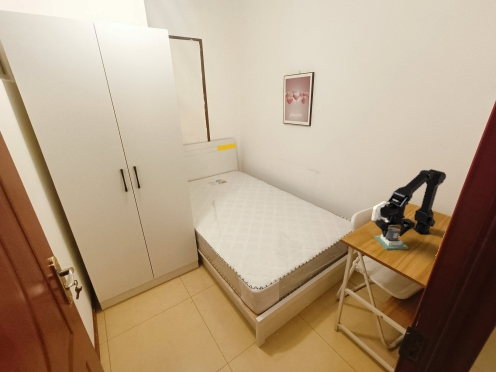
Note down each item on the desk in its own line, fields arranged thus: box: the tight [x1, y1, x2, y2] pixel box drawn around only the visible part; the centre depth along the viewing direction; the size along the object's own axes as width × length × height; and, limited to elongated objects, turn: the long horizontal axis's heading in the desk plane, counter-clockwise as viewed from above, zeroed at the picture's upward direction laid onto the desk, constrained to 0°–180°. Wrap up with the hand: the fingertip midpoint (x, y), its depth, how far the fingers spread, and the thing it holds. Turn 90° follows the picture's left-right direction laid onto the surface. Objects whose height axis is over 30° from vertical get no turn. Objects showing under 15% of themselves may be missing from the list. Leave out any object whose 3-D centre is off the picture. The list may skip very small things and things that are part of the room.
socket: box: [380, 233, 403, 246], centre depth 125 cm, size 8×8×2 cm
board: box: [373, 234, 409, 251], centre depth 126 cm, size 12×12×1 cm
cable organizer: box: [371, 200, 389, 222], centre depth 145 cm, size 15×11×12 cm
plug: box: [386, 226, 400, 241], centre depth 124 cm, size 4×4×8 cm
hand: (391, 236), depth 125 cm, fingers open, 9 cm apart
